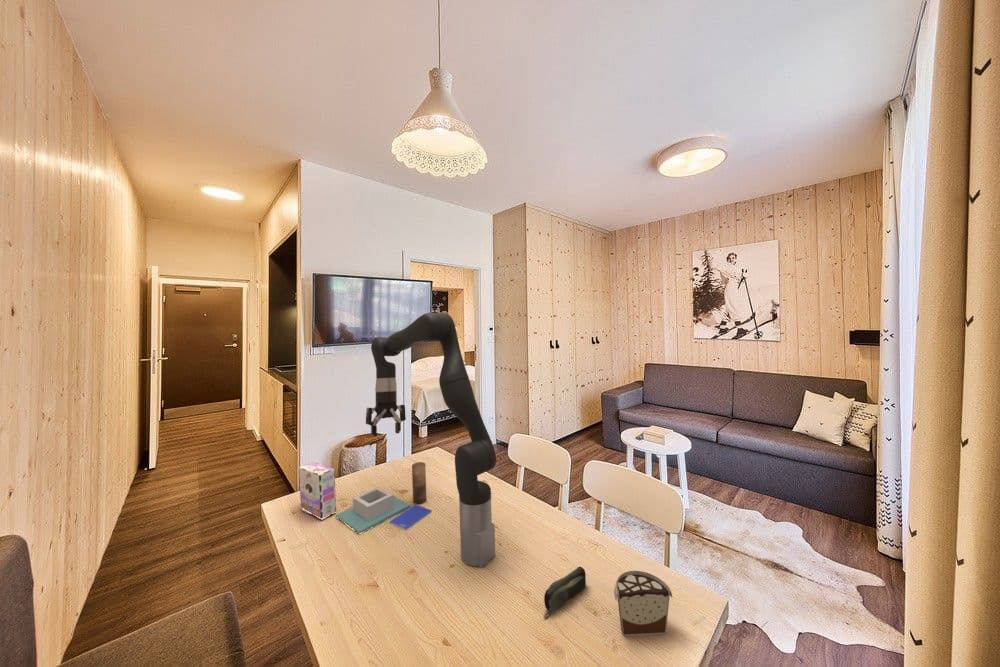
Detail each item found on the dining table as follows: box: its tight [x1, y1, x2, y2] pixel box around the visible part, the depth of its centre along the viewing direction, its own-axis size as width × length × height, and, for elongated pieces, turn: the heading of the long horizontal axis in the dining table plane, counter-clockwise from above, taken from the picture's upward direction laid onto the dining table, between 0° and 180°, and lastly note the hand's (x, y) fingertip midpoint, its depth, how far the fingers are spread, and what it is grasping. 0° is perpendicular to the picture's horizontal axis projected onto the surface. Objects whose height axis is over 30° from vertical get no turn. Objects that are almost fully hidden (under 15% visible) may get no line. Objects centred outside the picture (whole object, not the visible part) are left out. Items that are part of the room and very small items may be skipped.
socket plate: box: [335, 486, 412, 533], centre depth 122 cm, size 16×20×6 cm
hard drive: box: [388, 504, 433, 532], centre depth 118 cm, size 2×8×12 cm
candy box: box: [298, 461, 337, 518], centre depth 123 cm, size 14×6×16 cm, turn 58°
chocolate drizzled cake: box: [613, 570, 673, 637], centre depth 76 cm, size 12×6×10 cm, turn 92°
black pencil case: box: [543, 566, 587, 619], centre depth 82 cm, size 5×3×15 cm
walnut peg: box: [411, 461, 427, 505], centre depth 129 cm, size 5×5×14 cm
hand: (386, 434), depth 125 cm, fingers open, 8 cm apart
